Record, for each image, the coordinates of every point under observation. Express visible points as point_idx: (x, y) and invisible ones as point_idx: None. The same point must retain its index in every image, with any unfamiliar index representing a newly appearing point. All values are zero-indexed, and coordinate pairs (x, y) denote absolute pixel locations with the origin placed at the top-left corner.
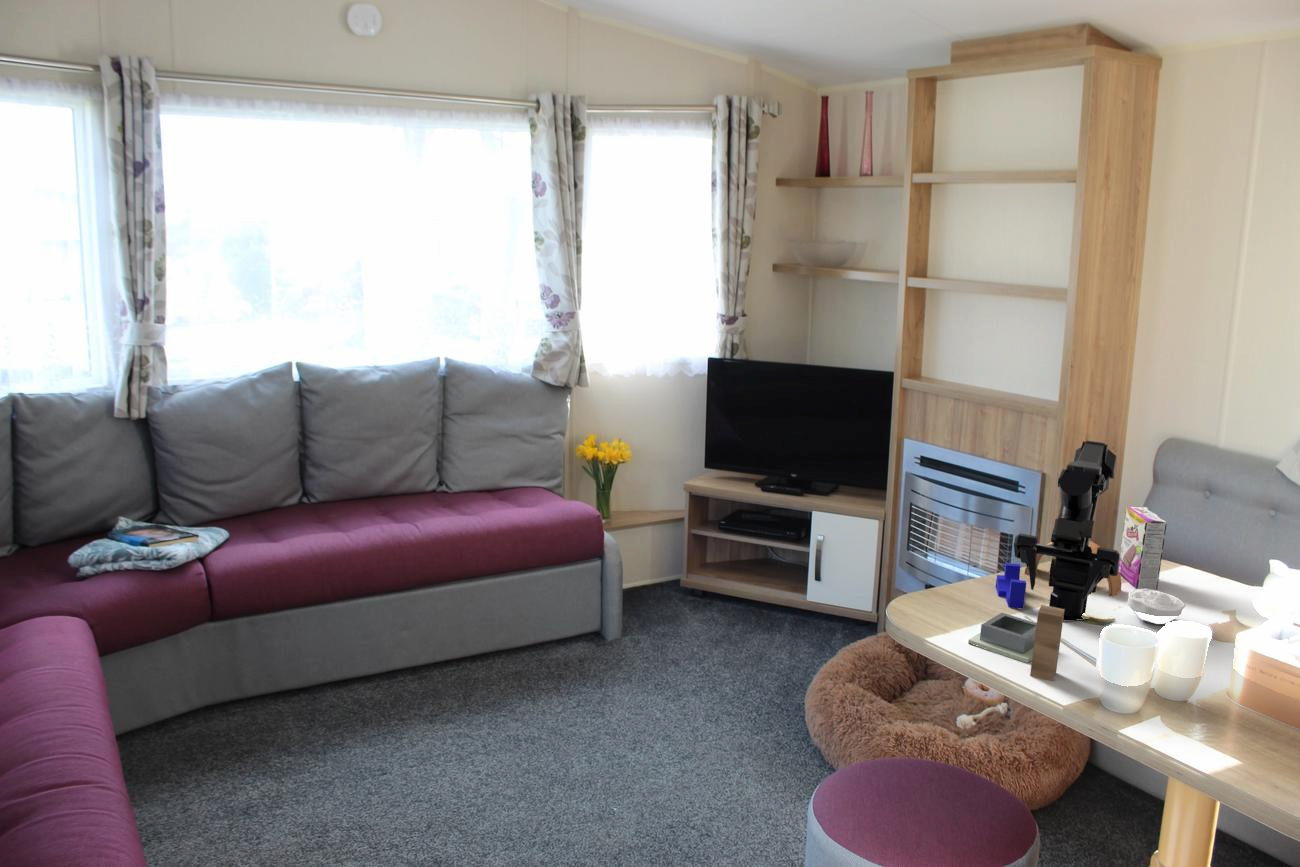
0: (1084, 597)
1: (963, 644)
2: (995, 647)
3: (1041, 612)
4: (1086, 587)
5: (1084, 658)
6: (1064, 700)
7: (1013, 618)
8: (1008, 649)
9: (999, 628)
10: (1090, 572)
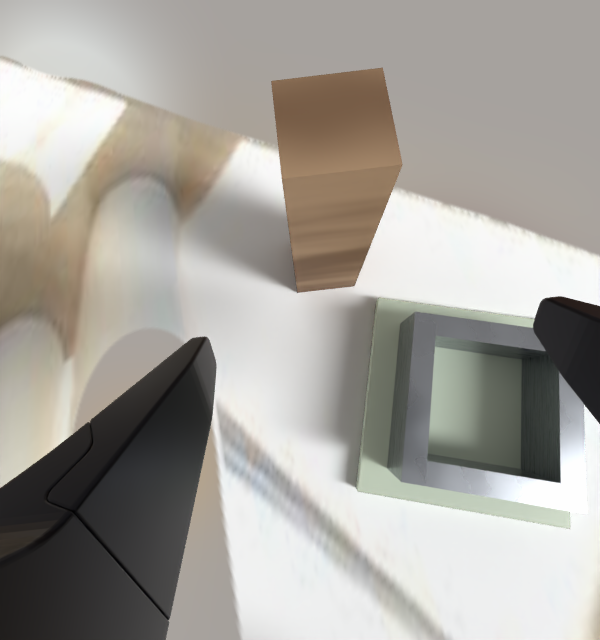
0: (196, 338)
1: None
2: (480, 317)
3: (367, 70)
4: (169, 373)
5: (253, 442)
6: (244, 161)
7: (523, 477)
8: None
9: (518, 340)
10: (72, 500)
